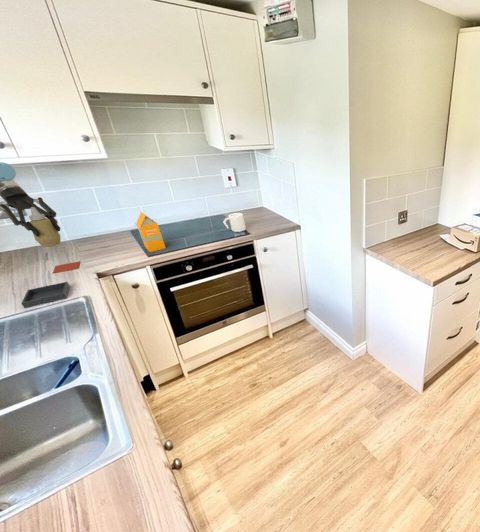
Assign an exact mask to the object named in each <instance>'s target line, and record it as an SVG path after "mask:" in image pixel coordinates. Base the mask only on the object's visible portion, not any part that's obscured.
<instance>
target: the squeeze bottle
mask: <svg viewBox="0 0 480 532" xmlns="http://www.w3.org/2000/svg"><path fill="white" fill-rule="evenodd" d="M30 213H31V215H29V216H28V218H29V219H30V221H29V222H30V223H31V224H32V225H33V226H34V228H35V229H36V230H37V231H38V232H39V233H40V235H39V237H37V236H36V235H35V234H34V233H33V232H32V235H33V237H34V240H35V241H36V242H37V243H38V244H39V245H40V246H41V247H42V248H52V247H55V246H58V245H61V234H60V233H59V231H57V230H56V229H55V227H54V225H53V224H52V222H51V221H50V219H48V218H46V217H45V215H44V214H40V213H39V212H38V211H37V210H36V208H35V207H31V209H30Z"/></svg>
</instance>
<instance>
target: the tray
mask: <svg viewBox="0 0 480 532" xmlns="http://www.w3.org/2000/svg"><path fill="white" fill-rule="evenodd" d="M70 287H71V286H70V284H69V282H68V281H63V282H58V283H54V284H50V285H45V286H39V287H35V288H31V289H27V291H26V293H25V295H24V297H23V299H22V301H21V305H22V307H23V309H28V308H32V307H36V306H41V305H44V303H45V304H49V303H52V302H57V301H61V300H66V299H67V298H68V294H69V291H70ZM40 304H41V305H40ZM27 307H28V308H27Z"/></svg>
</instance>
